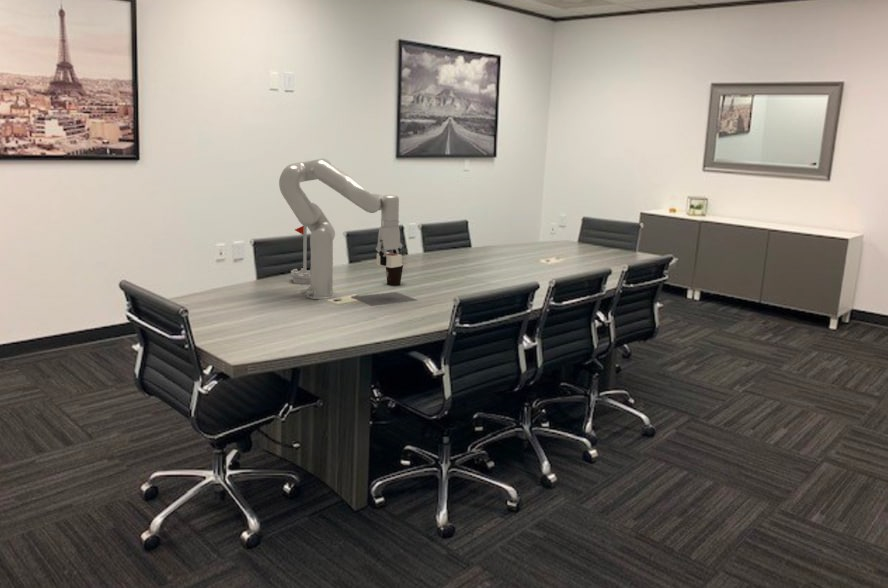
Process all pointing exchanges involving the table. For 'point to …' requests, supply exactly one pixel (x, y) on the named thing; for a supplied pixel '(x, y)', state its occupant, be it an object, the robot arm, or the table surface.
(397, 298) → the mat
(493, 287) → the table surface
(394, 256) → the card box
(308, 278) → the flag stand
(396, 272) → the coffee mug
